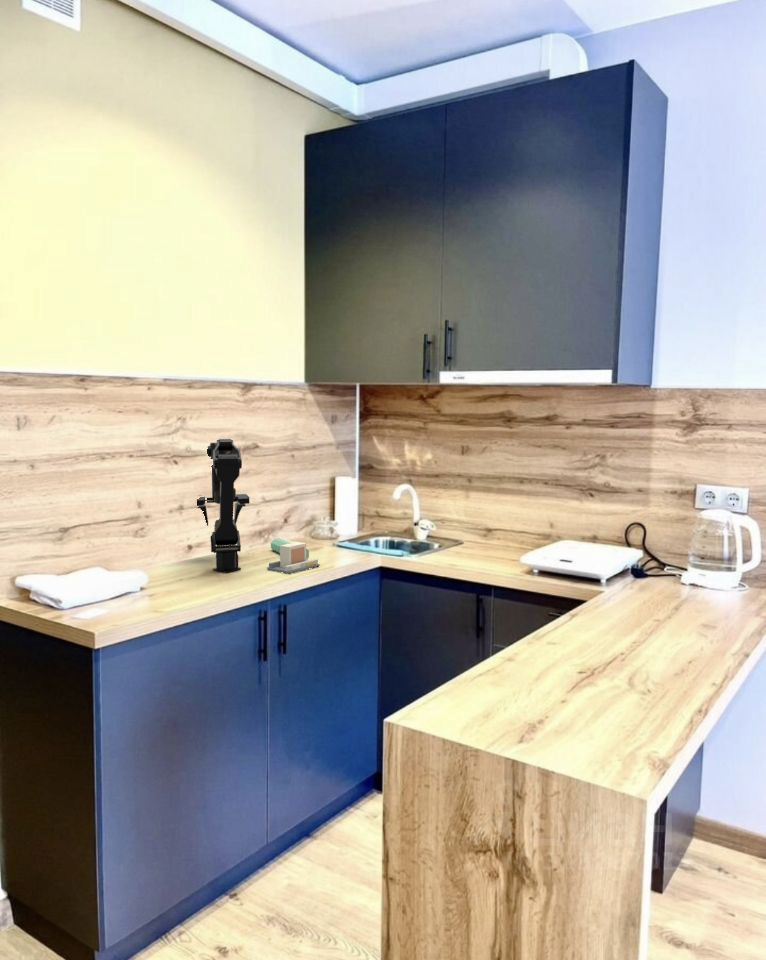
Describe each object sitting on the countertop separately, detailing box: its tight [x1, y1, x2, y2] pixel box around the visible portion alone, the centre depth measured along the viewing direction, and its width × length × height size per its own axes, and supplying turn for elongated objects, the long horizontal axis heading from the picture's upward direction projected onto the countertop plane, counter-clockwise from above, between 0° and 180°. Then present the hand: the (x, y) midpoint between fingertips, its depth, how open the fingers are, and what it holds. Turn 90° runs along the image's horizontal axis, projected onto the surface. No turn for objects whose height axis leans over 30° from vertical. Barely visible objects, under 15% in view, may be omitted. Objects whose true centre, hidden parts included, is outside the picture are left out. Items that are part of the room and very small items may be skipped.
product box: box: [279, 541, 307, 568], centre depth 244 cm, size 4×8×7 cm, turn 143°
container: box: [270, 538, 310, 561], centre depth 264 cm, size 6×6×25 cm
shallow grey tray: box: [266, 558, 321, 575], centre depth 244 cm, size 14×10×2 cm
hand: (221, 524), depth 256 cm, fingers open, 9 cm apart
